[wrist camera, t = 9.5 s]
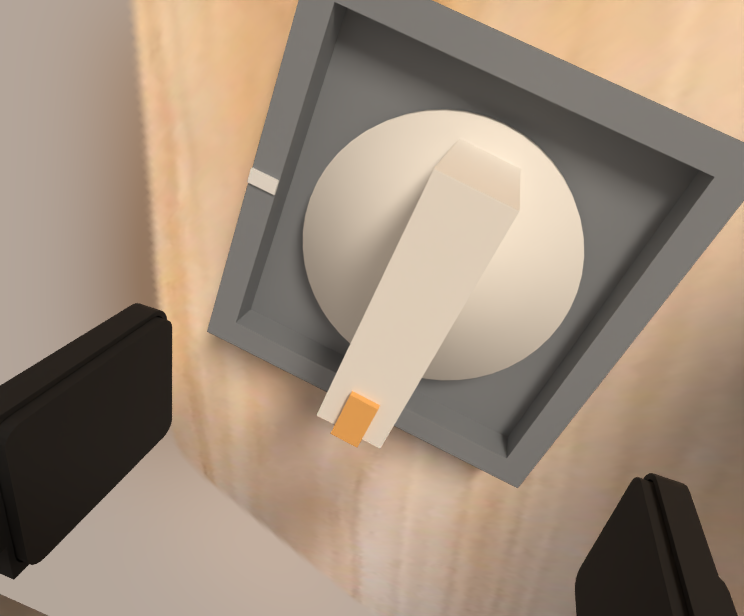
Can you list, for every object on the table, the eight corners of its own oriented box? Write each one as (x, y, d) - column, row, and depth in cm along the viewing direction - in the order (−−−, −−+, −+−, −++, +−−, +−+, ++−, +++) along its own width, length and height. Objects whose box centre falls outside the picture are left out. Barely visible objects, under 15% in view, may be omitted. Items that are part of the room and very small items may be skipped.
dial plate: (736, 142, 19) (779, 158, 16) (518, 439, 27) (517, 490, 24) (345, -36, 20) (311, -55, 17) (242, 301, 28) (205, 333, 24)
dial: (368, 57, 19) (291, 53, 13) (644, 191, 19) (707, 258, 12) (279, 298, 24) (193, 381, 18) (492, 408, 24) (481, 533, 18)
